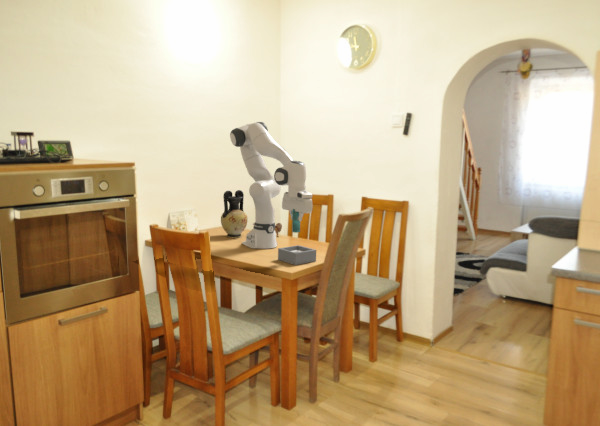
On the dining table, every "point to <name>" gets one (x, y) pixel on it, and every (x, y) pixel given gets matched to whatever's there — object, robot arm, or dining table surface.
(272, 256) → the dining table surface
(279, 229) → the lion figurine
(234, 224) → the amphora
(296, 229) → the peg
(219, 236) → the dining table surface
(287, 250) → the box
